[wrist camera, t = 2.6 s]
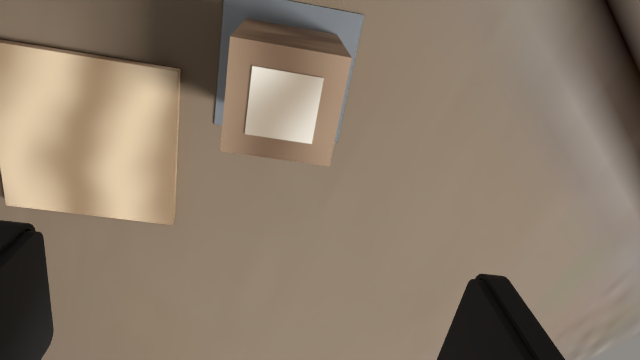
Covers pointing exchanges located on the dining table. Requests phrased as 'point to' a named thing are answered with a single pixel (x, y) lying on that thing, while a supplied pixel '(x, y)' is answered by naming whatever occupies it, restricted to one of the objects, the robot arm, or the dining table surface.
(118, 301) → the dining table surface
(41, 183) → the cork pad
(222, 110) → the tile
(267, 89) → the walnut block
